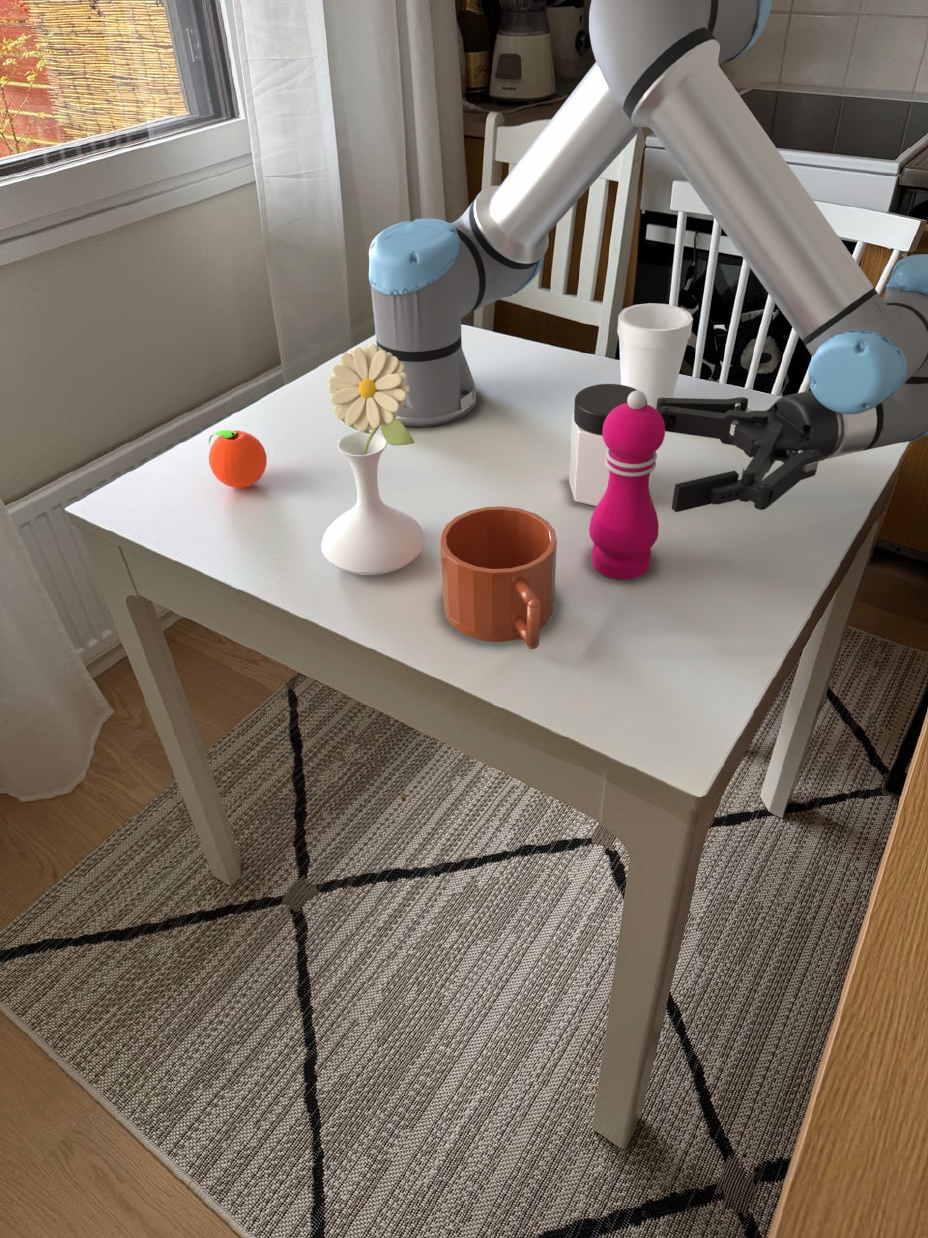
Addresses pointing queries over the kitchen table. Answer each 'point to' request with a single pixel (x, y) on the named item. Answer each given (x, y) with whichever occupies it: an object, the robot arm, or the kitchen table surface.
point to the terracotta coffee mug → (499, 574)
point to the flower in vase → (370, 465)
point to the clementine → (237, 458)
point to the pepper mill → (627, 491)
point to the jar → (592, 440)
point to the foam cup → (652, 348)
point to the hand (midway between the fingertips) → (640, 464)
